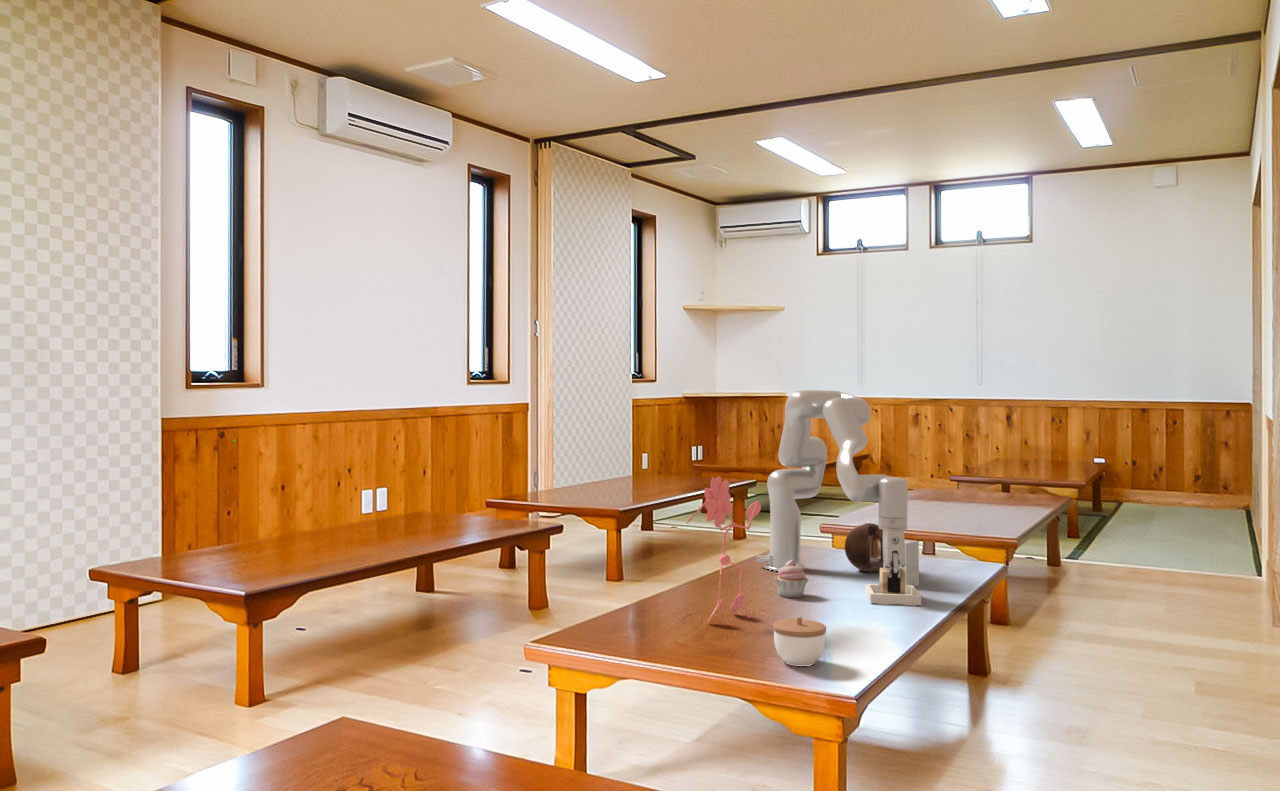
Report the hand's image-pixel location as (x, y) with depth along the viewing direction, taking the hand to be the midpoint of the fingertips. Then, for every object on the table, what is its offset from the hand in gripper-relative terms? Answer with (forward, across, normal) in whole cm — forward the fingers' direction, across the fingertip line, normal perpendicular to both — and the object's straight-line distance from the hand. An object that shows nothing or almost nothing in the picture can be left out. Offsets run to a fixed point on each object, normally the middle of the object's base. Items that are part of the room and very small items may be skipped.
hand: (892, 589), depth 249 cm
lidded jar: (+3, -64, +27) cm, 70 cm away
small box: (+3, +20, -5) cm, 21 cm away
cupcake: (+3, 0, +27) cm, 27 cm away
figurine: (+3, -29, +46) cm, 54 cm away
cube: (+1, 0, 0) cm, 1 cm away
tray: (+3, 0, 0) cm, 3 cm away
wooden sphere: (+3, +40, +2) cm, 40 cm away
